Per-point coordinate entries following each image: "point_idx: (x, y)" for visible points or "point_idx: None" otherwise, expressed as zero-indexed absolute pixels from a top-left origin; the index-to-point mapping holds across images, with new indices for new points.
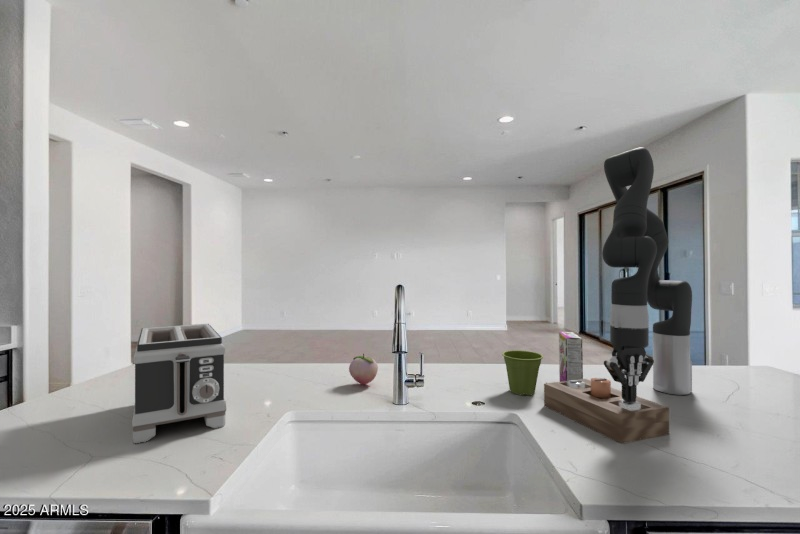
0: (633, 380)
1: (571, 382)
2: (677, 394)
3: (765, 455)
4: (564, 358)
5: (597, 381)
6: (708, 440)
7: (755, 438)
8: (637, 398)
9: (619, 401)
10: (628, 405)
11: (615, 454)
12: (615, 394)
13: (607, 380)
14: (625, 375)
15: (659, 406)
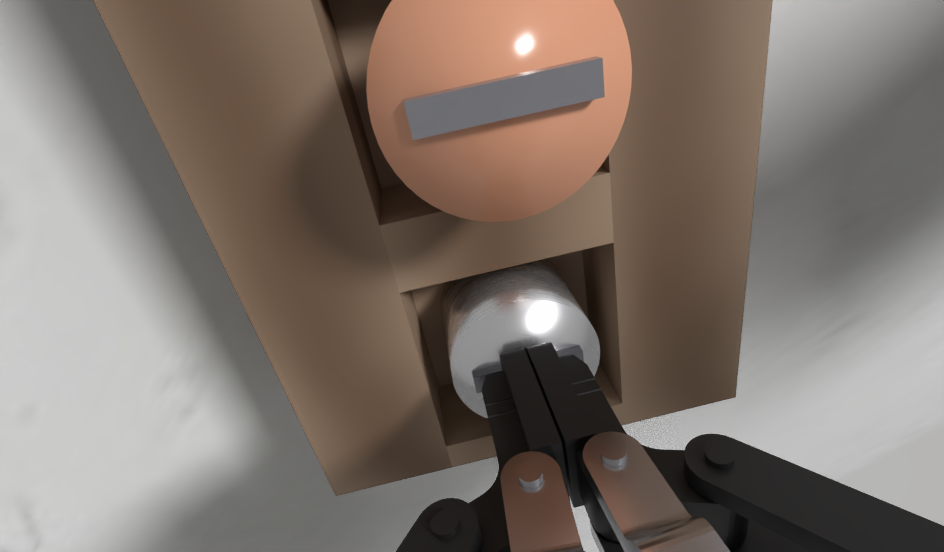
0: (599, 550)
1: None
2: None
3: (793, 462)
4: None
5: (422, 145)
6: (750, 366)
7: (935, 358)
8: (706, 232)
9: (464, 348)
10: (475, 409)
11: (261, 456)
12: None
13: (598, 111)
14: (607, 510)
15: (692, 386)
